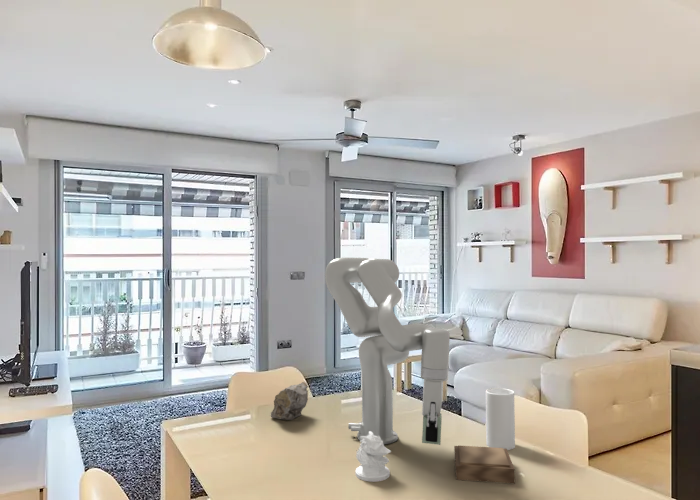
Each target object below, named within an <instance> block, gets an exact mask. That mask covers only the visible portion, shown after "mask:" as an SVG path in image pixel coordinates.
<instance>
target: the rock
mask: <svg viewBox="0 0 700 500" xmlns="http://www.w3.org/2000/svg"><path fill="white" fill-rule="evenodd" d="M308 385H309V384H307V382H305V381H302V382H301V383H299V384H292V385H289V386H287V387H285V388H284V389H282V390H280V391H279V392H278V394H276V395H275V397H274V400H273V410H272V411H271V412H270V417H271V418H274V419H279V420H282V421H283V420H285V421H289V420H290V421H291V420H294V419H295V418H297V417H300V416H302V412H303V410H304V409H305V407H307V404H308V400H309V398H308V397H309V394H308V393H309V390H308V387H309V386H308Z"/></svg>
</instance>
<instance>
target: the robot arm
mask: <svg viewBox="0 0 700 500" xmlns="http://www.w3.org/2000/svg"><path fill="white" fill-rule="evenodd" d="M324 274H325V275H324V278H325V285H326V287H327V289H328V292H329V294H330V295H331V297H332V298H333V299H334V302H336V304H337V305H338V307H339V310H340V312H341V314H342V315H343V317H344V320H345V322H346V323H347V325H348V327H349V329H350V331H351V333H352V334H353V335H354V336H355V337H358V338H365V339H363V340H362V341H361V342H360V345H359V347H358V358H359V362H360V370H361V391H362V393H361V401H362V402H361V405H362V407H361V409H362V412H361V415H362V417H361V422H358V423H355V422H348V427H347V428H348V430H350V431H351V432H357V434H356V437H357V439H358V441H359V442H360V441H361V440H362V439H364V438H362V437H361V436H365V437H366V436H368V434H369V431H371V432H373V434H374V435H375V436H378V435H379V436H380V438H381V441H383V444H384V445H387V444H389V445H390V444H392V443H394V442H396V441H398V438H399V435H398V433H397V432H396V431H395V430H393V429H394V428H393V427H394V425H393V424H394V423H393V422H394V421H393V419H394V418H393V417H394V414H393V413H394V411H393V409H394V408H393V400H394V399H393V392H394V391H393V378H392V375H391V372H390V370H389V368H388V366H390V365H391V366H392V365H395V364H400V363H402V362H405V361H406V359H408V358H409V354H410V352H413V351H421V356H420V357H421V361H420V362H421V365H420V378H421V379H422V380H423V389H422V390H423V391H422V413H421V414H422V416H425V415H427V414H428V415H427V426H426V439H425V440H426V441H429V442H437V436H438V427H437V418H438V417H440V413H441V412H442V406H443V405H442V404H443V391H444V382H446V381H448V379H449V357H450V356H449V355H450V341H451V340H450V333H449V331H448V330H447V329H444V328H441V327H440V328H439V327H432V326H431V325H428V324H426V323H421V322H420V323H411V324H402V323H401V322H400V320H399V319H398V318H397V315H396V313H395V312H394V307H396V306H397V305H398V304H399V302H400V301H401V299H402V297H403V294H402V291H401V290H400V289H399V287H398V286H397V284H396V283H397V281H398V280H399V277H400V269H399V266H398V265H397V264H396V262H395V261H393V260H391V259H387V258H372V257H371V258H370V257H337V258H334V259H333V260H330V262H328V264H327V265H326V267H325V273H324ZM353 283H362V285H363V286H364V288H365V289H366V291H367V293H368V294H369V295H370V297H371V298H372V299H373V301H374V303H375V305H376V306H371V305H370V306H369V304H368V303H367V302H366V301H365V298H364V296H363V295H362V293H361V292H360V291H359V290H358V289H357V288H356V287H354V286H353V285H352V284H353ZM429 413H430V415H429ZM435 414H436V416H435ZM437 416H438V417H437ZM429 418H430V419H429Z"/></svg>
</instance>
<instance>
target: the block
mask: <svg viewBox="0 0 700 500" xmlns="http://www.w3.org/2000/svg"><path fill="white" fill-rule="evenodd" d="M427 415H428V414H427ZM427 415H425V416H423V415H422V416H423V417H422V436H421V443H422V444H429V445H440V446H441V441H442V437H441V436H442V413H441V412H440V417H438V416H437V417H438V418H437V427H438V436H437V442H429V441H426V440H425V439H426V426H427ZM429 415H430V413H429ZM435 416H436V414H435ZM429 419H430V418H429Z"/></svg>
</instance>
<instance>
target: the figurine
mask: <svg viewBox="0 0 700 500" xmlns="http://www.w3.org/2000/svg"><path fill="white" fill-rule="evenodd" d="M361 437H362V438H364V439H362V440H361V441H360V440H359V442H360V444H359V448H357V450H356V455H355V457H356V460H357V461H358V462H359V466H358V467H356V468H355V472H354V473H355V476H356V478H357V479H358V480H361V481H365V482H371V483H372V482H374V483H375V482H382V481H385V480H387V479H388V478H389V477H390V473H391V471H390V468H388V467H387V463H389V462H390V459H389V458H388V457H387V456H386V455H388V454H390V453H391V452H392V450H390V449H389V448H387V447H386V446H385V444H383V441H381V438H380V436H379V435H378V436H375V435H374V434H373V432H371V431H369V434H368V436H366V437H365V436H361Z"/></svg>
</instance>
